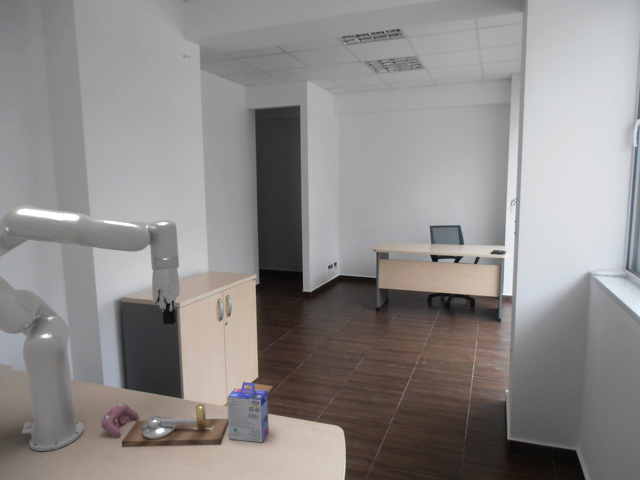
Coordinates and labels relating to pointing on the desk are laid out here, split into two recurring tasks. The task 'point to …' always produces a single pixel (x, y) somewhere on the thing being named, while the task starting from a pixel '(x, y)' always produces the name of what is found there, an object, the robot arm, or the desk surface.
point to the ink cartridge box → (248, 414)
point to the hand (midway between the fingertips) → (169, 323)
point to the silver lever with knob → (172, 424)
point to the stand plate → (180, 435)
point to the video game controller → (119, 414)
